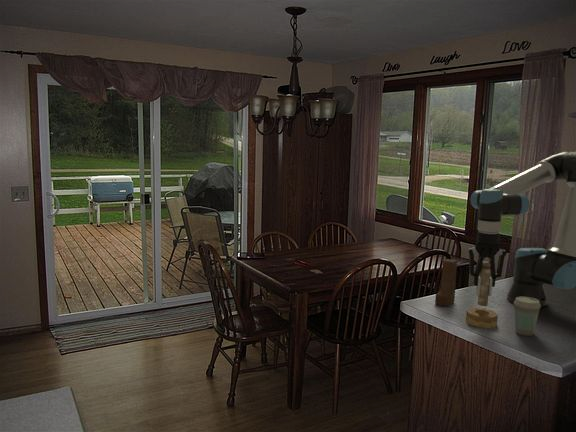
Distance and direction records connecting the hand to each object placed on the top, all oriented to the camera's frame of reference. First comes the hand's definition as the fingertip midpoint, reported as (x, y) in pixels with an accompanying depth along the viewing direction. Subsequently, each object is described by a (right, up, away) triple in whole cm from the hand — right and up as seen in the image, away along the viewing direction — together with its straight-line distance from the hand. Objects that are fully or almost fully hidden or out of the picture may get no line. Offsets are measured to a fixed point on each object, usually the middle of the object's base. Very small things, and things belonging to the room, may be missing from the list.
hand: (483, 294), depth 177 cm
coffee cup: (+12, -12, -7) cm, 18 cm away
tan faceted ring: (0, -11, +2) cm, 11 cm away
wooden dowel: (0, -4, +1) cm, 4 cm away
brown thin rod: (+2, -9, +12) cm, 15 cm away
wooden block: (-7, -8, +23) cm, 25 cm away
